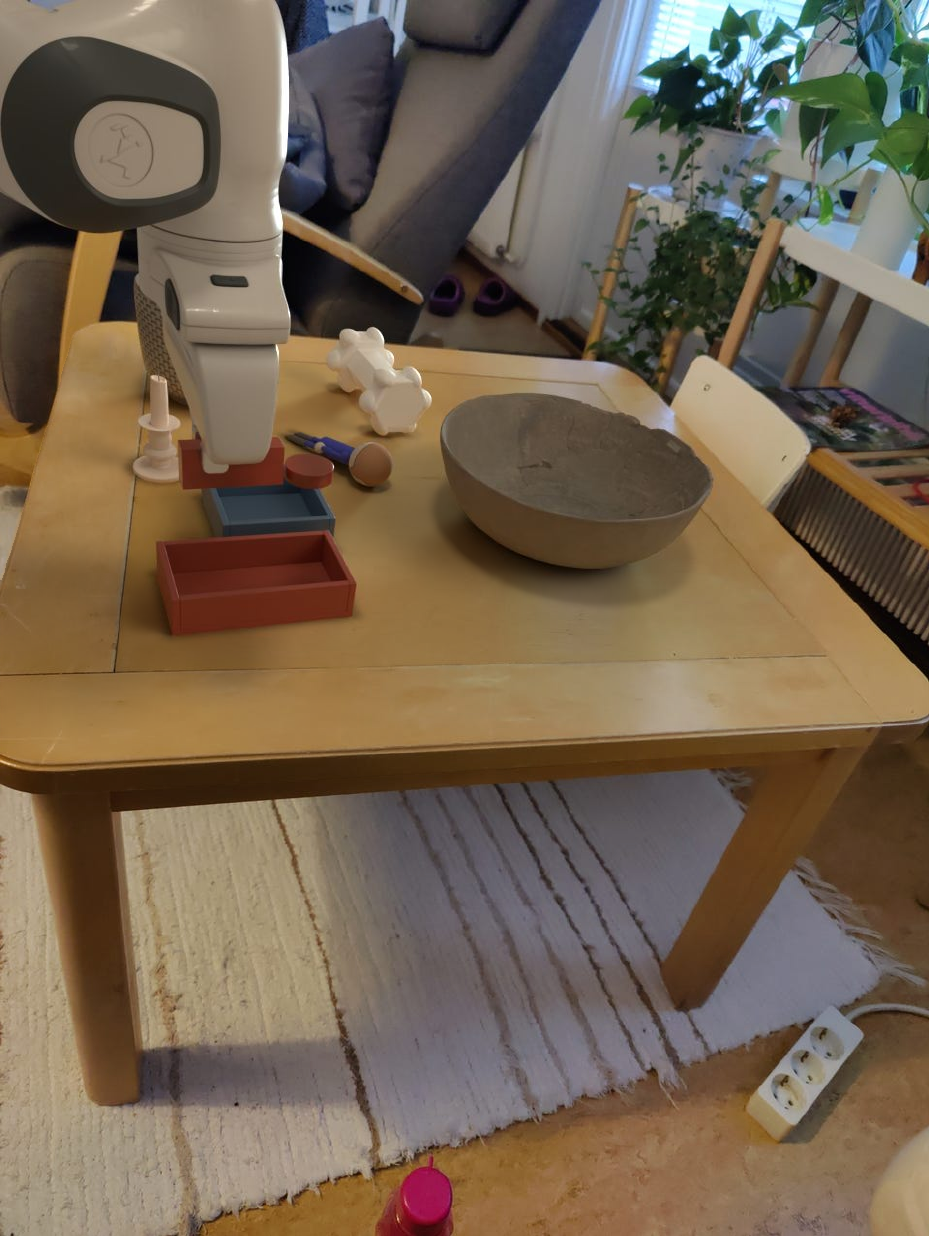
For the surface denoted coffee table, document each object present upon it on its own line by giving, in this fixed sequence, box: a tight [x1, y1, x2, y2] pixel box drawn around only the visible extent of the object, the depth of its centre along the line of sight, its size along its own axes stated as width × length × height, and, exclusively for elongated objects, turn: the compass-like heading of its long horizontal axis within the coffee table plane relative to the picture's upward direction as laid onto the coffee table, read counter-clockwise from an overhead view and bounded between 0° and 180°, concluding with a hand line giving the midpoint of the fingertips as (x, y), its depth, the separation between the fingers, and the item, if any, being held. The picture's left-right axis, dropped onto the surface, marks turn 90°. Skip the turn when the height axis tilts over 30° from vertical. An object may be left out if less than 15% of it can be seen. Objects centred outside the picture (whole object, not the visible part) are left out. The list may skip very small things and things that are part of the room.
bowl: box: [439, 392, 714, 570], centre depth 90 cm, size 28×28×10 cm
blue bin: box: [200, 464, 337, 539], centre depth 82 cm, size 10×10×4 cm
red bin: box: [155, 530, 357, 637], centre depth 73 cm, size 15×8×4 cm, turn 114°
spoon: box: [177, 436, 335, 491], centre depth 66 cm, size 12×4×3 cm, turn 113°
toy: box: [284, 431, 394, 487], centre depth 95 cm, size 5×5×15 cm
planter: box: [133, 272, 189, 408], centre depth 98 cm, size 14×14×13 cm
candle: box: [132, 373, 181, 484], centre depth 84 cm, size 5×5×10 cm
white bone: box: [325, 326, 432, 437], centre depth 105 cm, size 15×9×8 cm, turn 26°
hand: (209, 458), depth 65 cm, fingers closed on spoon, 2 cm apart
